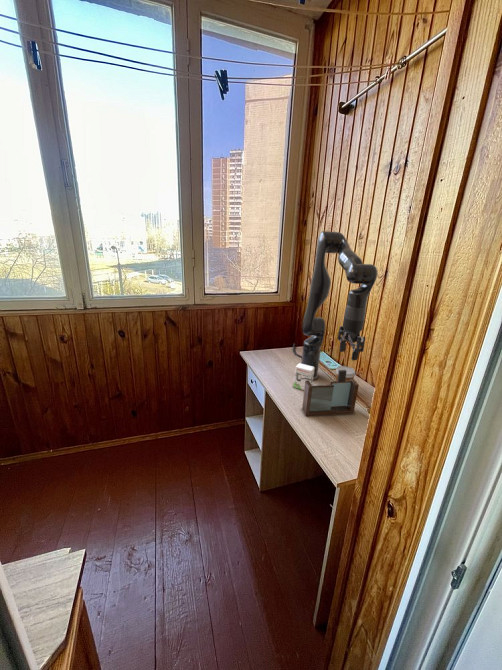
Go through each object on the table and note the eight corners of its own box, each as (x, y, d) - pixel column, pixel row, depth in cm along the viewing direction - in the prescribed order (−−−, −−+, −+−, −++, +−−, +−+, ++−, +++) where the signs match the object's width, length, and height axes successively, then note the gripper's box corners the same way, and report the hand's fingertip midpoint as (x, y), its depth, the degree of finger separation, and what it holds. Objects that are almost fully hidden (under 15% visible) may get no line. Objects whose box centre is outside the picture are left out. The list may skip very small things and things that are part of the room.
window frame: (302, 409, 131) (305, 380, 126) (348, 407, 134) (353, 378, 129) (305, 416, 126) (309, 386, 121) (353, 413, 129) (358, 384, 124)
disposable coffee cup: (355, 391, 147) (359, 370, 143) (345, 398, 140) (349, 376, 136) (339, 384, 153) (342, 363, 149) (328, 390, 147) (331, 369, 143)
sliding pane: (326, 405, 131) (331, 370, 125) (346, 404, 132) (352, 369, 126) (327, 407, 130) (332, 371, 124) (347, 406, 131) (353, 371, 125)
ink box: (293, 387, 149) (295, 366, 145) (296, 383, 153) (298, 362, 149) (309, 392, 145) (311, 370, 141) (312, 387, 149) (315, 366, 145)
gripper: (374, 322, 107) (366, 362, 113) (352, 311, 120) (346, 348, 126) (356, 323, 105) (349, 364, 111) (335, 312, 118) (330, 349, 124)
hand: (347, 355), depth 118 cm, fingers open, 8 cm apart
